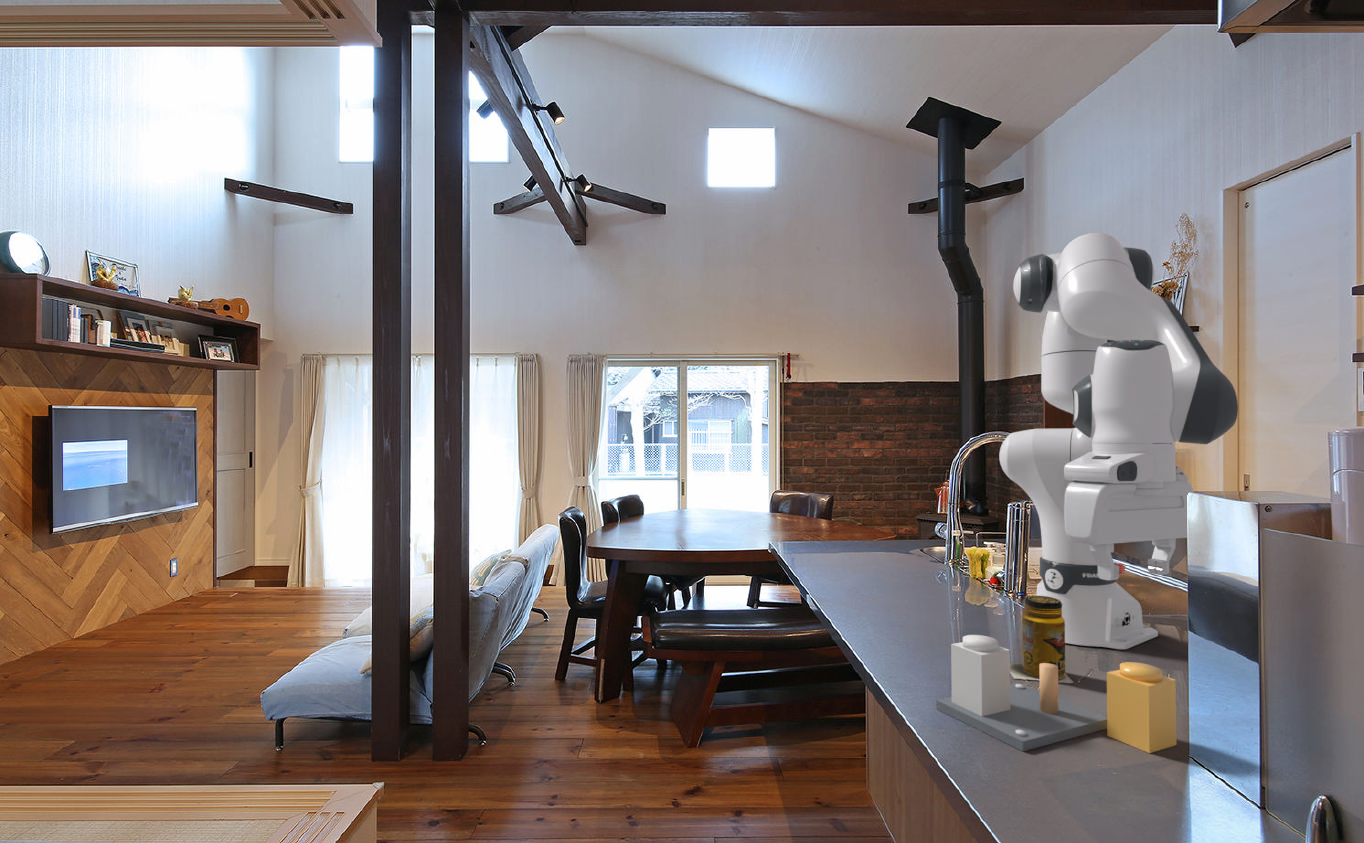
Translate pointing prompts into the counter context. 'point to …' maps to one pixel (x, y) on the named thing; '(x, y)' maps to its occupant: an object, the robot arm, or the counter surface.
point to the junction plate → (1011, 699)
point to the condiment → (1042, 638)
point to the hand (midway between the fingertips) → (1134, 576)
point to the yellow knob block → (1141, 707)
